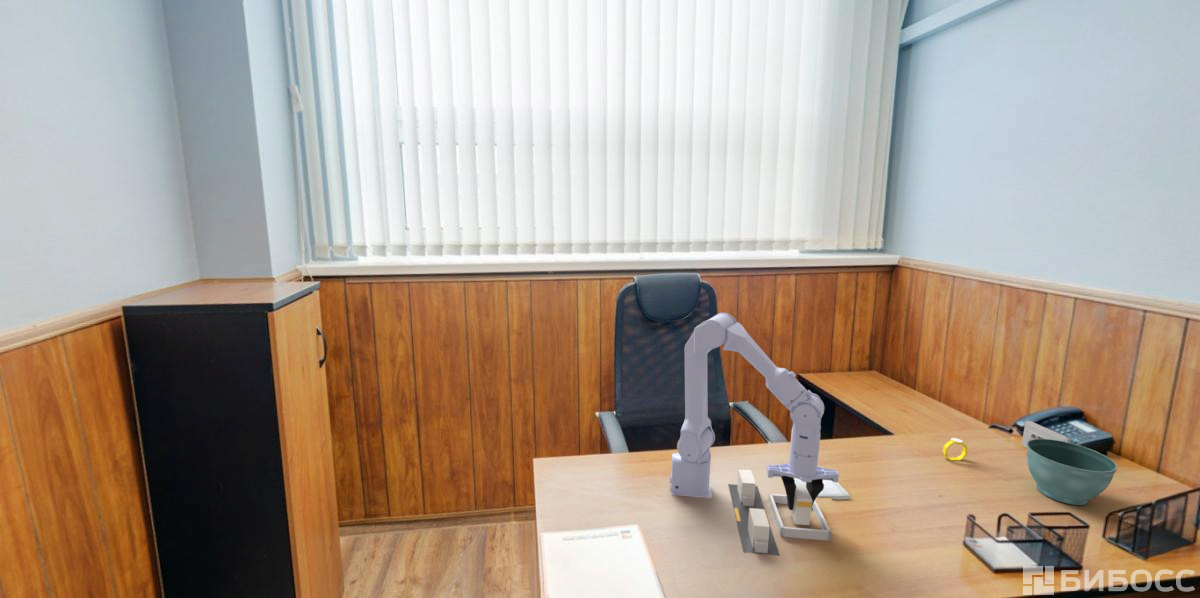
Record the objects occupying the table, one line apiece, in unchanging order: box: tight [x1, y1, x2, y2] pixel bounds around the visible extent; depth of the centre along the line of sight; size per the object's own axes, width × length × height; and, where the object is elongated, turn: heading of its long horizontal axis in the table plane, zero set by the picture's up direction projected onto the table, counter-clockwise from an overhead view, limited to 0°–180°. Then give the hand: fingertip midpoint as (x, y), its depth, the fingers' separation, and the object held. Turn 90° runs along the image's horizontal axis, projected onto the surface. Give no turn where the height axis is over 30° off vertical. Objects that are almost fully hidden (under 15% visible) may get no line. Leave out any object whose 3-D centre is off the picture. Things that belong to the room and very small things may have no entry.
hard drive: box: [794, 478, 851, 500], centre depth 127 cm, size 2×8×12 cm
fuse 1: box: [737, 469, 757, 502], centre depth 123 cm, size 3×6×5 cm, turn 173°
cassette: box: [1021, 420, 1071, 449], centre depth 146 cm, size 12×2×8 cm, turn 9°
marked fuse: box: [789, 484, 812, 526], centre depth 113 cm, size 3×6×6 cm, turn 173°
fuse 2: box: [748, 508, 771, 548], centre depth 107 cm, size 3×6×5 cm, turn 173°
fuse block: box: [727, 483, 781, 556], centre depth 115 cm, size 7×25×3 cm, turn 173°
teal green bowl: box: [1026, 438, 1118, 506], centre depth 125 cm, size 16×16×11 cm
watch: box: [942, 437, 968, 462], centre depth 142 cm, size 6×3×6 cm, turn 91°
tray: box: [768, 493, 832, 542], centre depth 114 cm, size 10×13×2 cm
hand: (798, 508), depth 114 cm, fingers closed on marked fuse, 3 cm apart
